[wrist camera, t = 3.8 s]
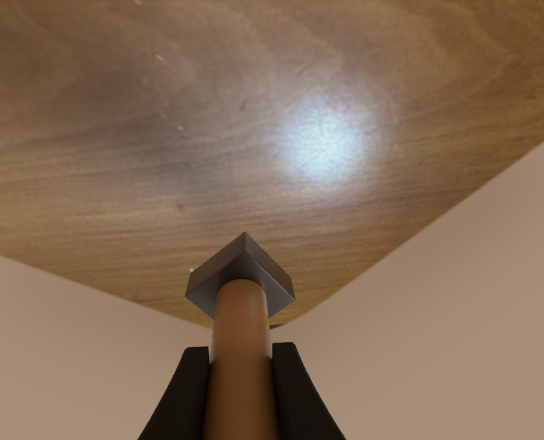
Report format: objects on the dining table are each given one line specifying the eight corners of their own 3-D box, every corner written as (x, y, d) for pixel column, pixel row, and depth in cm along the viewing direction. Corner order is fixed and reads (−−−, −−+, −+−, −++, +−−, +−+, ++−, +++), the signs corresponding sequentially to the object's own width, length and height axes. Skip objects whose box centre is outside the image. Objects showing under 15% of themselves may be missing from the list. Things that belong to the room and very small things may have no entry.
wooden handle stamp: (238, 314, 16) (234, 587, 7) (189, 273, 14) (122, 547, 6) (291, 277, 15) (350, 533, 7) (244, 230, 14) (250, 476, 6)
